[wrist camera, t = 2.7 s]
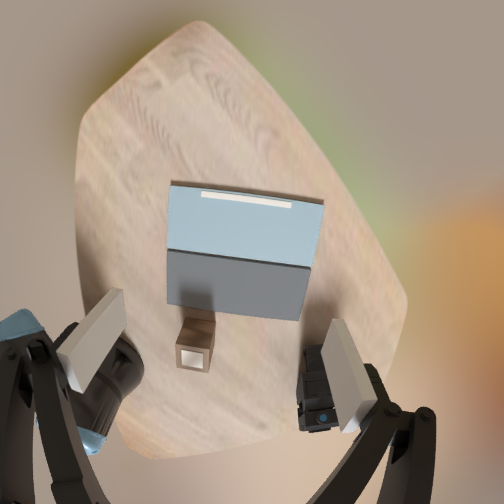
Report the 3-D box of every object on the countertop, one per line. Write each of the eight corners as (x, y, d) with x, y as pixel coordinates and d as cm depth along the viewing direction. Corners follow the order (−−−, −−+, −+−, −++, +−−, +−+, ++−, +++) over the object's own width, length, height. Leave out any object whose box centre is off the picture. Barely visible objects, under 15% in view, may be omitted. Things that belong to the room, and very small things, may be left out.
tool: (333, 335, 40) (346, 427, 30) (319, 367, 55) (325, 430, 45) (295, 340, 40) (304, 433, 31) (291, 370, 55) (296, 434, 45)
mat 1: (168, 246, 38) (166, 248, 38) (171, 185, 35) (169, 185, 35) (311, 265, 39) (311, 267, 38) (323, 204, 36) (324, 205, 35)
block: (186, 340, 45) (176, 367, 38) (186, 317, 43) (175, 344, 36) (214, 344, 45) (208, 373, 38) (215, 321, 43) (209, 350, 36)
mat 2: (168, 301, 42) (167, 303, 41) (168, 249, 39) (166, 251, 38) (297, 319, 42) (298, 321, 42) (310, 268, 39) (311, 269, 39)
